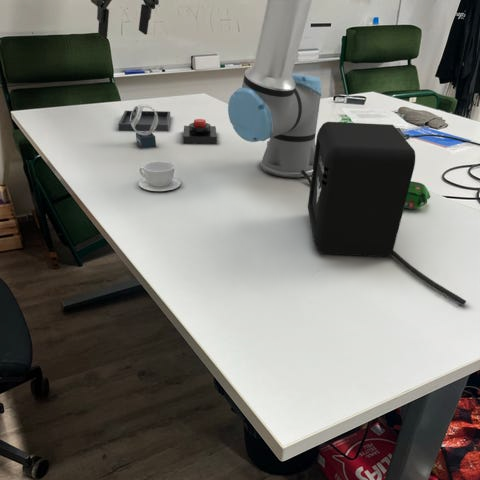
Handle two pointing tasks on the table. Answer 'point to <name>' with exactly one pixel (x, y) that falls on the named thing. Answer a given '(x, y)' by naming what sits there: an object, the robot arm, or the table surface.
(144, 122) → the tray
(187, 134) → the control block
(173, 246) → the table surface
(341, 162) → the air purifier
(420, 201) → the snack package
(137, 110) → the watch
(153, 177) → the teacup
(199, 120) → the button
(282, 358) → the table surface
